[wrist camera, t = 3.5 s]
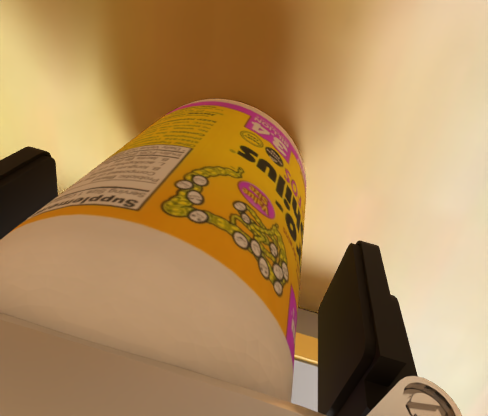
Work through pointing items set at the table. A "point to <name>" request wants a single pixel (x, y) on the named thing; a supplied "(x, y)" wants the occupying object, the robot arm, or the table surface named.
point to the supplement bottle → (176, 248)
